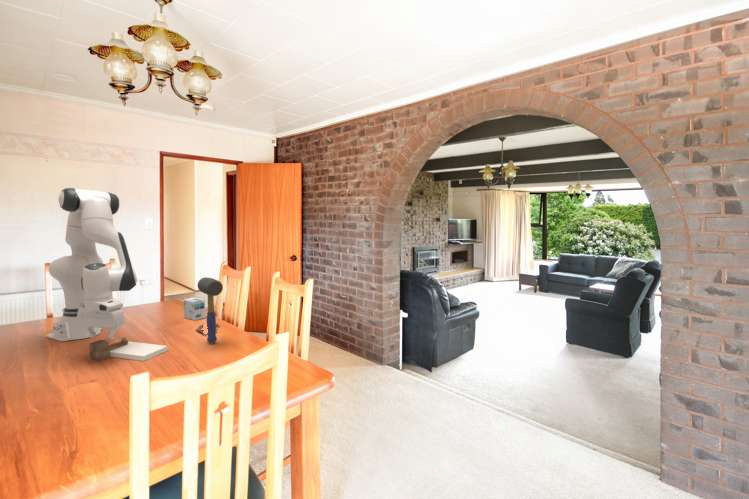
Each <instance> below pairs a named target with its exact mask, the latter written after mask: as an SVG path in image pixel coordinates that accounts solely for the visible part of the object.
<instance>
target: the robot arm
mask: <svg viewBox="0 0 749 499" xmlns="http://www.w3.org/2000/svg"><path fill="white" fill-rule="evenodd" d="M58 203H59V207H60V208H61V209H62V210H63V211H65V212H68V216H67V222H66V223H67V224H66V228H65V229H66V232H65V239H64V240H65V244H67V245H69V246H70V250H71V255H65V256H62V257H59V258H57V259H54V260H53V261H51V262H50V264H49V267H48V272H49V275H50V276H51V277H52V278H53V279H55V280H56V281H57V282H59V284H60V286H61V289H62V291H63V295H64V304H65V305H64V306H65V307H64V308H63V309H61V312H63V313H62V316H61V317H59V319H58V320H56V321H55V322H54V323H53V324H52V332H49V333H48V334H46V337H47V338H48V339H52V340H56V341H59V342H67V341H72V340H73V341H74V340H81V339H88V338H92V339H93V338H96V337H97V336H98V335H100V334H101V333H102V330H103V329H108V331H109V334H107V339H109V340H113V339H115V338H116V337H115V336H116V335H115V334H116V332H117V330H118V329H119V328H122V327H124V325H125V324H126V322H125V312H124V310H123V309H122V308H123V307H124V304H123V302H121V300H117V299H115V298H113V296H112V292H129V291H131V290H132V289H133V288H135V287H136V286H137V282H138V279H137V278H138V277H137V275H136V272H135V270H134V268H133V264H132V261H131V257H130V254H129V250H128V246H127V243H126V241H125V238H124V236H123V233H122V232H119V231H117V230H116V228H115V226H114V219H113V215H116V214H117V213H118V211H119V209H120V199H119V196H118V195H116V194H115V193H111V192H109V191H108V192H105V191H101V190H96V189H83V188H74V187H66V188H65V187H64V188H63V189H62V190H61V191H60V193H59V195H58ZM96 244H100V245H104V246H107V247H111V248H113V249H114V250H115V251H116V253H117V257H118V261H119V263H120V267H118V268H108V266H107V264H105V263H104V262H103V261H104V260H103V259H102V258H101V256H99V254H98V251H97V246H96Z"/></svg>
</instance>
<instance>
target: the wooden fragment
mask: <svg viewBox="0 0 749 499" xmlns="http://www.w3.org/2000/svg"><path fill="white" fill-rule="evenodd" d="M217 327H218V328H220V325H219V324H218V323H216V326H215V331H216V330H217V331H218V332H219V330H218V328H217ZM202 328H203V324H201V325H199V326H198V327H197V328H196V329H195V331H196V330H197V331H196V332H198V333H200V334H202V336H203V335H204V337H207V336H206V335H208V333H207V334H204V333H203V331H204V330H201V329H202ZM216 328H217V329H216ZM207 329H208V328H207ZM217 331H216V334H218V333H217Z"/></svg>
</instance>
